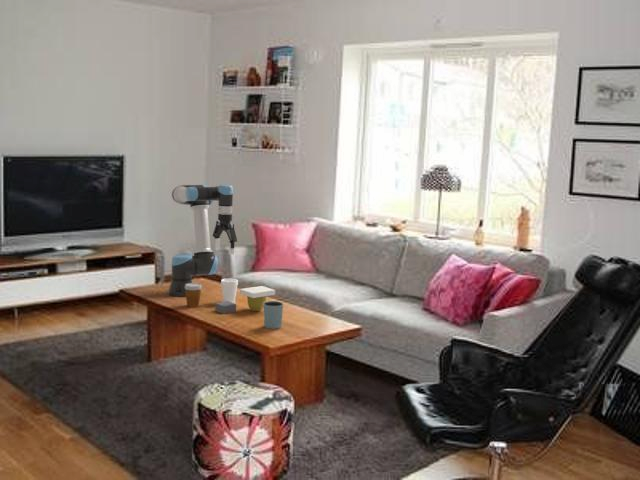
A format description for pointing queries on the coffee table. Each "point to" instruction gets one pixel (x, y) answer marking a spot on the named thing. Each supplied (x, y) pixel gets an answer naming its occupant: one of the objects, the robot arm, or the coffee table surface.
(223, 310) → the stand
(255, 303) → the flower pot
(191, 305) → the disposable coffee cup
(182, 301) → the coffee table surface
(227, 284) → the foam cup
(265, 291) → the lid
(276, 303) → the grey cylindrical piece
